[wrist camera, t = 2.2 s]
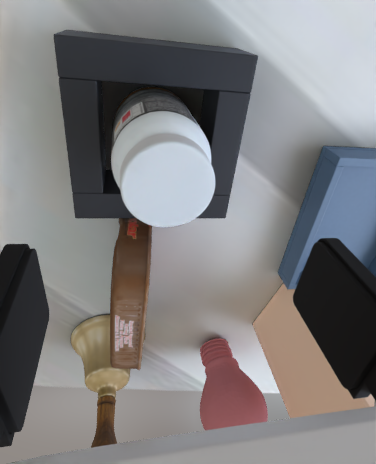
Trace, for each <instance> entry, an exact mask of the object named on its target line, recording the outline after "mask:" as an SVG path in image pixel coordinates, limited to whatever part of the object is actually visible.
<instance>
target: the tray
mask: <svg viewBox="0 0 376 464" xmlns="http://www.w3.org/2000/svg"><path fill="white" fill-rule="evenodd" d="M321 238H338V239H339V240H340V241H341V242H342V243H343V244H344V245H345V246H346V247H347V248H348V249H349V250H350V251H351V252H352V253H353V254H354V255H355V256H356V257H357V258H358V259H359V260H360V261H361V262H362V264H363V265H364V266H365V267H366V268H367V269H368V270H369V271H370V272H371V273H372V274H373V275H374V276H375V277H376V148H356V147H336V146H323V148H322V151H321V154H320V156H319V159H318V162H317V165H316V167H315V170H314V173H313V176H312V179H311V181H310V184H309V187H308V190H307V193H306V195H305V198H304V201H303V204H302V206H301V209H300V212H299V215H298V218H297V220H296V223H295V226H294V229H293V232H292V234H291V237H290V240H289V243H288V245H287V248H286V251H285V254H284V257H283V259H282V262H281V265H280V268H279V271H278V274H279V276H280V277H281V279H282V281H283V283H284V284H285V286H286V288H287V289H296V287H297V284H298V282H299V279H300V277H301V274H302V272H303V269H304V267H305V264H306V262H307V259H308V257H309V255H310V252H311V250H312V247H313V245H314V244H315V243H316V242H317V241H318V240H319V239H321Z"/></svg>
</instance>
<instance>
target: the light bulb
mask: <svg viewBox="0 0 376 464" xmlns="http://www.w3.org/2000/svg"><path fill="white" fill-rule="evenodd" d="M200 352H201V353H200V355H201V359H202V363H203V365H204V366H205V367H206V368H205V373H206V375H207V378H206V382H205V385H204V389H203V393H202V398H201V402H200V416H201V421H202V424H203V427H204V429H205V430H212V429H218V428H225V427H232V426H239V425H246V424H253V423H260V422H267V418H268V417H267V416H268V414H267V406H266V402H265V399H264V396H263V395H262V393H261V391H260V390H259V388H258V387H257V386H256V385H255V384H254V382H253V381H252V380H251V379H250V378H249V377H248V376H247V375H246V374H245V373H244V372H243V371H242V370H241V369H240V368H239V366H238V362H237V361H236V359H234V358H232V352H231V349H230V348H229V345H228V342H227V341H226V340H225V339H219V338H218V339H213V340H210V341H208V342H206V343H204V344H203V345H202V347H201V348H200Z"/></svg>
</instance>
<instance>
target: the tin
mask: <svg viewBox="0 0 376 464" xmlns="http://www.w3.org/2000/svg"><path fill="white" fill-rule="evenodd" d="M119 225H120V229H119V235H118V239H117V241H116V245H115V249H114V257H113V267H112V281H111V303H110V363H111V366H112V367H113V368H118V369H138V370H140V368H141V361H142V350H143V341H144V332H145V322H146V313H147V304H148V292H149V280H150V279H149V278H150V265H151V243H152V242H151V241H152V240H151V239H152V236H151V235H152V226H151V225H148V224H146V223H144V222H142V221H140V220H139V219H137V218H119Z"/></svg>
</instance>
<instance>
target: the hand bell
mask: <svg viewBox="0 0 376 464" xmlns="http://www.w3.org/2000/svg"><path fill="white" fill-rule="evenodd" d="M144 340H145V332H144ZM143 343H144V341H143ZM71 344H72V347H73V349H74V350H75V352H76V353H77V354H78V355H80V356H81V358H82V360H83V363H84V370H85V384H86V386H87V387H88V389H90V390H91V391H94V392H97V393H98V402H97V406H98V409H97V429H96V434H95V437H94V440H93V443H92V446H91V448H93V447H99V446H105V445H111V444H117V441H116V437H115V433H114V413H115V402H116V400H115V397H116V391H118V390H120V389H122V388H123V387H124V386H126V384H127V383H128V381H129V377H130V369H118V368H113V367H112V366H111V363H110V315H101V316H96V317H93V318H90V319H87V320H86V321H84V322H82V323H81V324H80V325H78V326H77V327H76V328H75V329H74V331H73V333H72V335H71Z"/></svg>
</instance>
